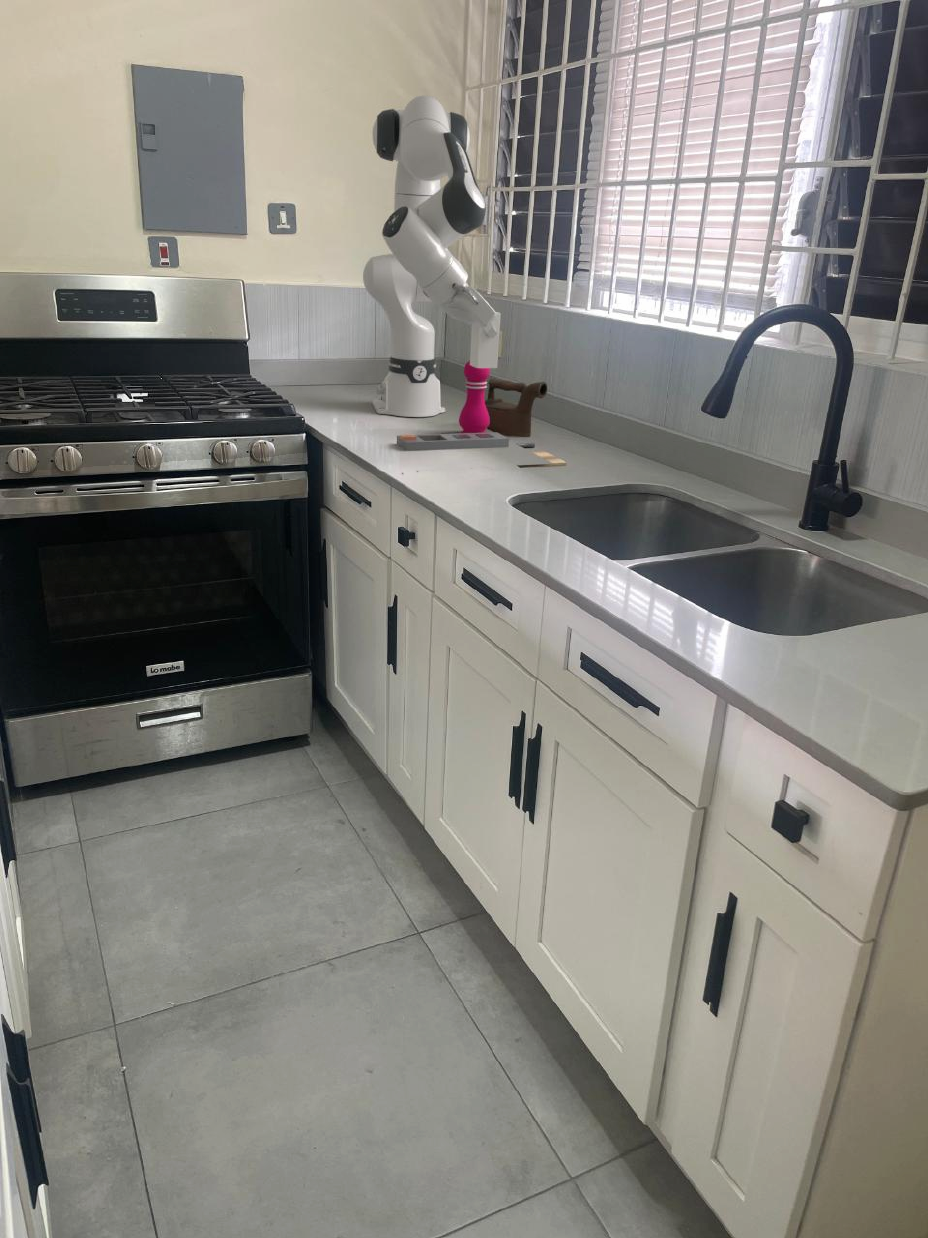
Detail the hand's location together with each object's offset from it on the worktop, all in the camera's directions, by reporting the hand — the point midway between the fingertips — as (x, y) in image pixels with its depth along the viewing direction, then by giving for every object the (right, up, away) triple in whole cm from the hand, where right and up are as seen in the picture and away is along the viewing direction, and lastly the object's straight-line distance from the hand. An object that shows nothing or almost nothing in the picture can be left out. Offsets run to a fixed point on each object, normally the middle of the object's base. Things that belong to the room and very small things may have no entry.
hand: (488, 334), depth 195 cm
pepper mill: (-3, -17, +25) cm, 31 cm away
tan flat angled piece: (+10, -25, +8) cm, 28 cm away
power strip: (-4, -21, +15) cm, 26 cm away
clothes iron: (+6, -14, +35) cm, 38 cm away
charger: (-1, -6, +2) cm, 7 cm away
